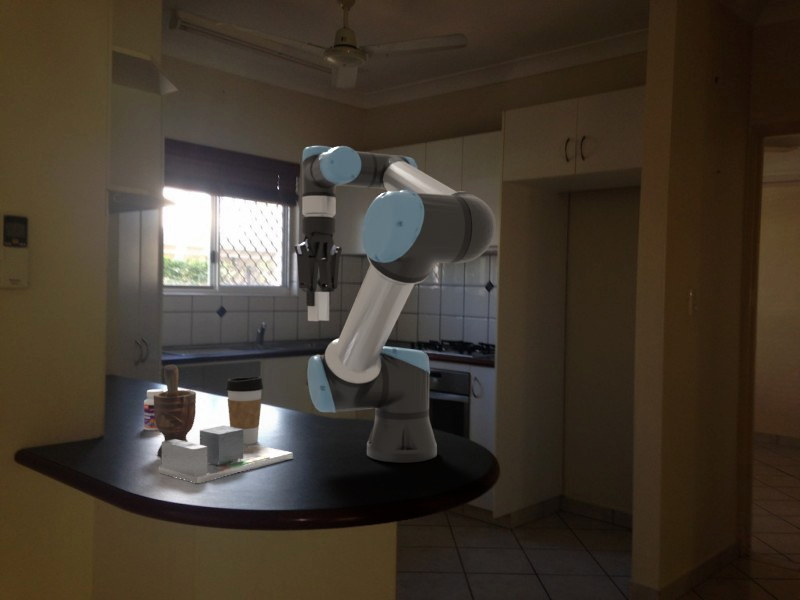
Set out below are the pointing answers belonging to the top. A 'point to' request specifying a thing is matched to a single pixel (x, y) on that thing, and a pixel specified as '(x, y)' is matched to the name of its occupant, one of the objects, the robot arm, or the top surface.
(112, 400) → the top surface
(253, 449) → the gauge base
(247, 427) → the coffee cup
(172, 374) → the mortar and pestle
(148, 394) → the pill bottle
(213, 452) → the grey rectangular block
